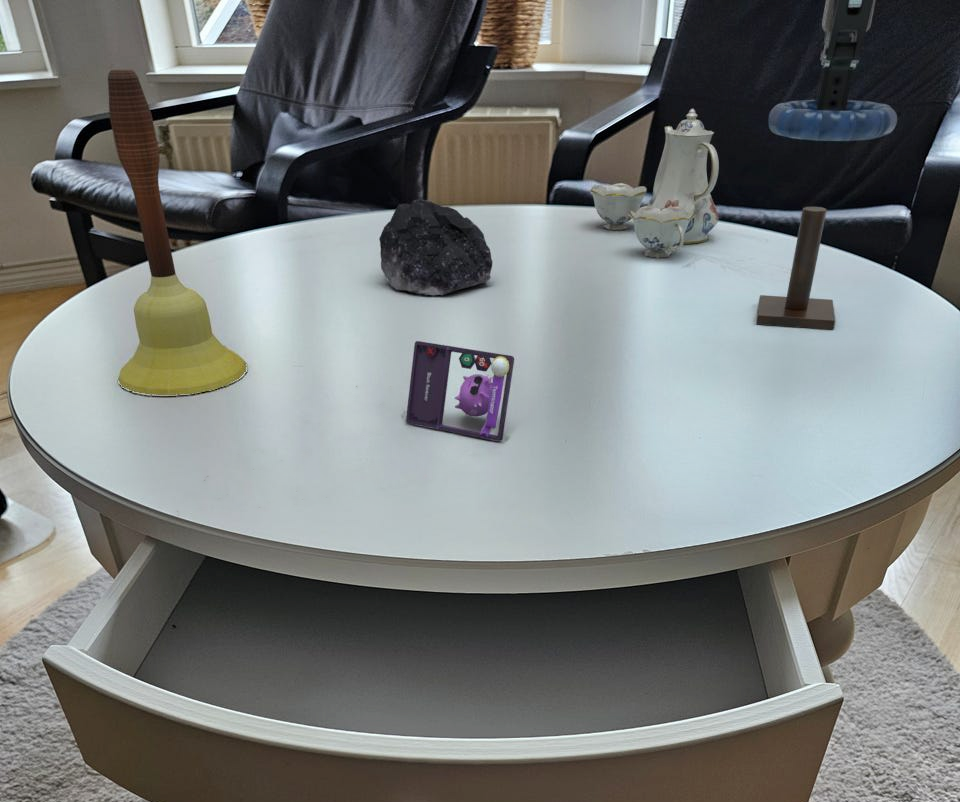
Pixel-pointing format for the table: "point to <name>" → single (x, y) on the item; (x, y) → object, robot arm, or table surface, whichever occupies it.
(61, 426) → the table surface
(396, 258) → the dark grey rock
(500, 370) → the game card
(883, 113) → the ring
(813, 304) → the post
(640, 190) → the chinaware
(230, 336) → the table surface
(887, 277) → the table surface
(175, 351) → the handbell
